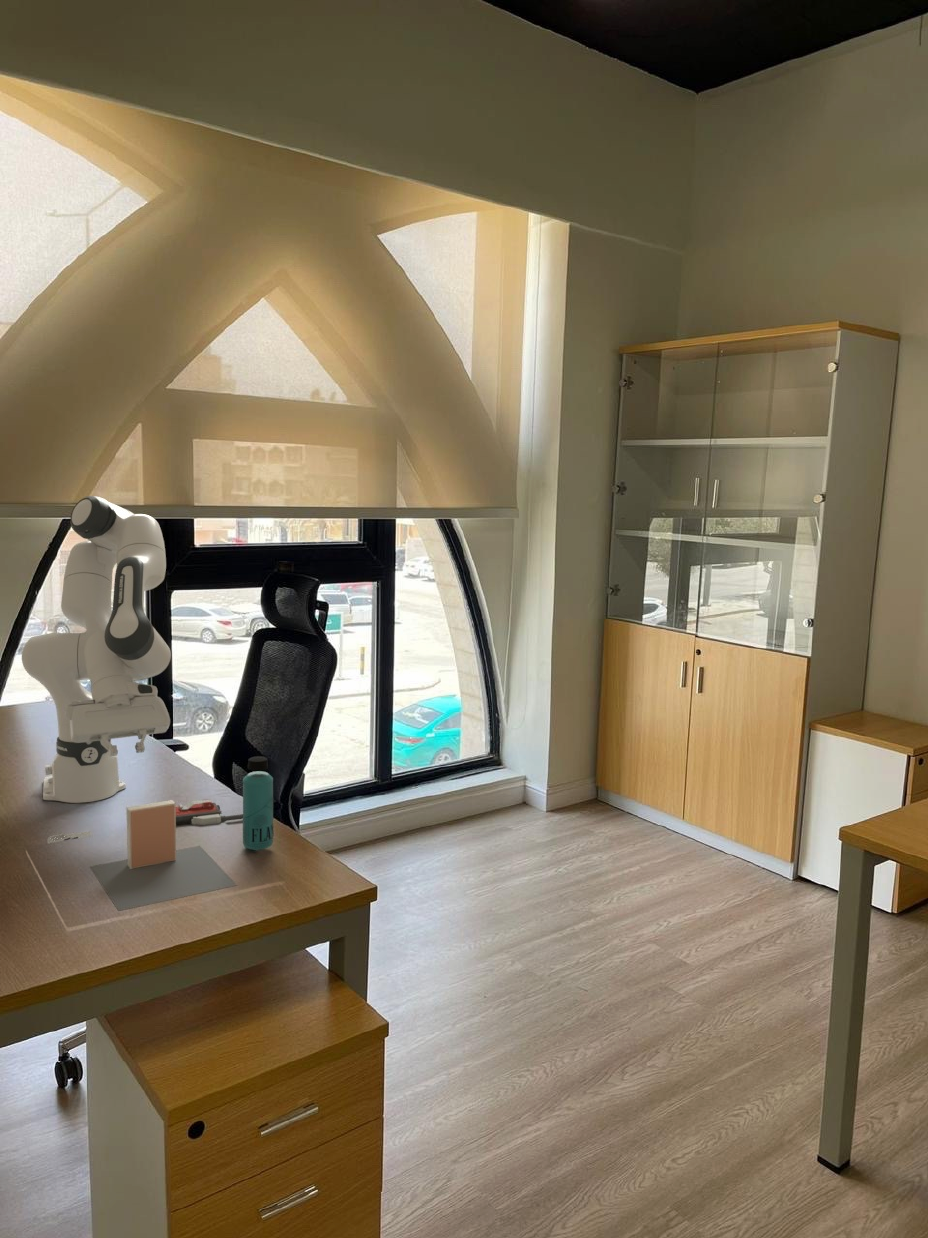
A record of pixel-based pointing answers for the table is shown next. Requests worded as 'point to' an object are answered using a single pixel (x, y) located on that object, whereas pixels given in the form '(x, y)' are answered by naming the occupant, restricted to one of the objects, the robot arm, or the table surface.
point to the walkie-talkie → (202, 813)
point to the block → (151, 834)
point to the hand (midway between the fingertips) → (127, 753)
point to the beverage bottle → (258, 805)
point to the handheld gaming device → (68, 836)
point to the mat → (161, 879)
